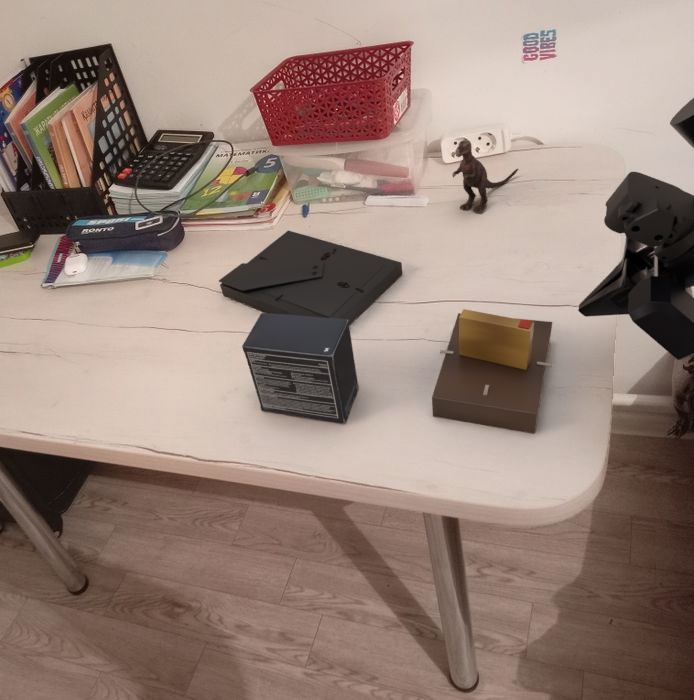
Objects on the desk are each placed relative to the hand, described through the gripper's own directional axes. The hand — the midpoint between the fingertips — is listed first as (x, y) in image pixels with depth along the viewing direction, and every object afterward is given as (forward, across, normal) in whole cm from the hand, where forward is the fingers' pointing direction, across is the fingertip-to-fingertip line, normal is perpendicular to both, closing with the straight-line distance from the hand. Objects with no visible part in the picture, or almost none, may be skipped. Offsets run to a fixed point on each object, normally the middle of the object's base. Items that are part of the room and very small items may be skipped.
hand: (581, 311), depth 61 cm
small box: (+25, +9, -12) cm, 30 cm away
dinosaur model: (+16, -36, -4) cm, 40 cm away
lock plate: (+12, +2, +1) cm, 12 cm away
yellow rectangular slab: (+10, +2, -1) cm, 10 cm away
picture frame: (+31, -12, -18) cm, 37 cm away
